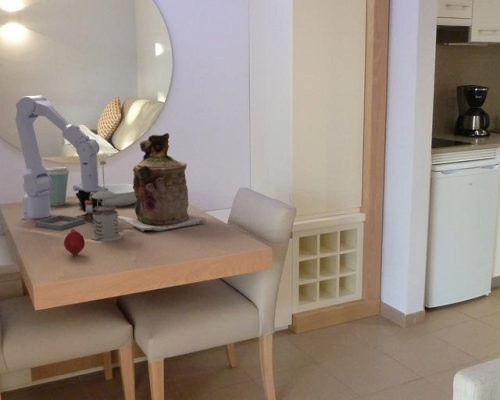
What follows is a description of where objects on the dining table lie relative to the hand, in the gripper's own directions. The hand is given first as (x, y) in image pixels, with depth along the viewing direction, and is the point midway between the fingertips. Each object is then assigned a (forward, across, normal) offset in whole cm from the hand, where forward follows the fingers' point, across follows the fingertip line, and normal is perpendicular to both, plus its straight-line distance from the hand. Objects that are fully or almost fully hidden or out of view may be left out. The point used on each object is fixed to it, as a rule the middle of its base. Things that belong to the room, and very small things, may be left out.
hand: (91, 212), depth 217 cm
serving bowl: (+4, +11, -26) cm, 28 cm away
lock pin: (+2, 0, 0) cm, 2 cm away
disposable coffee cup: (+4, +33, -16) cm, 37 cm away
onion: (+4, -24, +33) cm, 41 cm away
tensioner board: (+3, +2, -3) cm, 5 cm away
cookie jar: (+4, -22, -11) cm, 25 cm away
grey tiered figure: (+4, +14, -12) cm, 19 cm away
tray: (+3, +4, +11) cm, 12 cm away
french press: (+4, -18, +13) cm, 23 cm away
